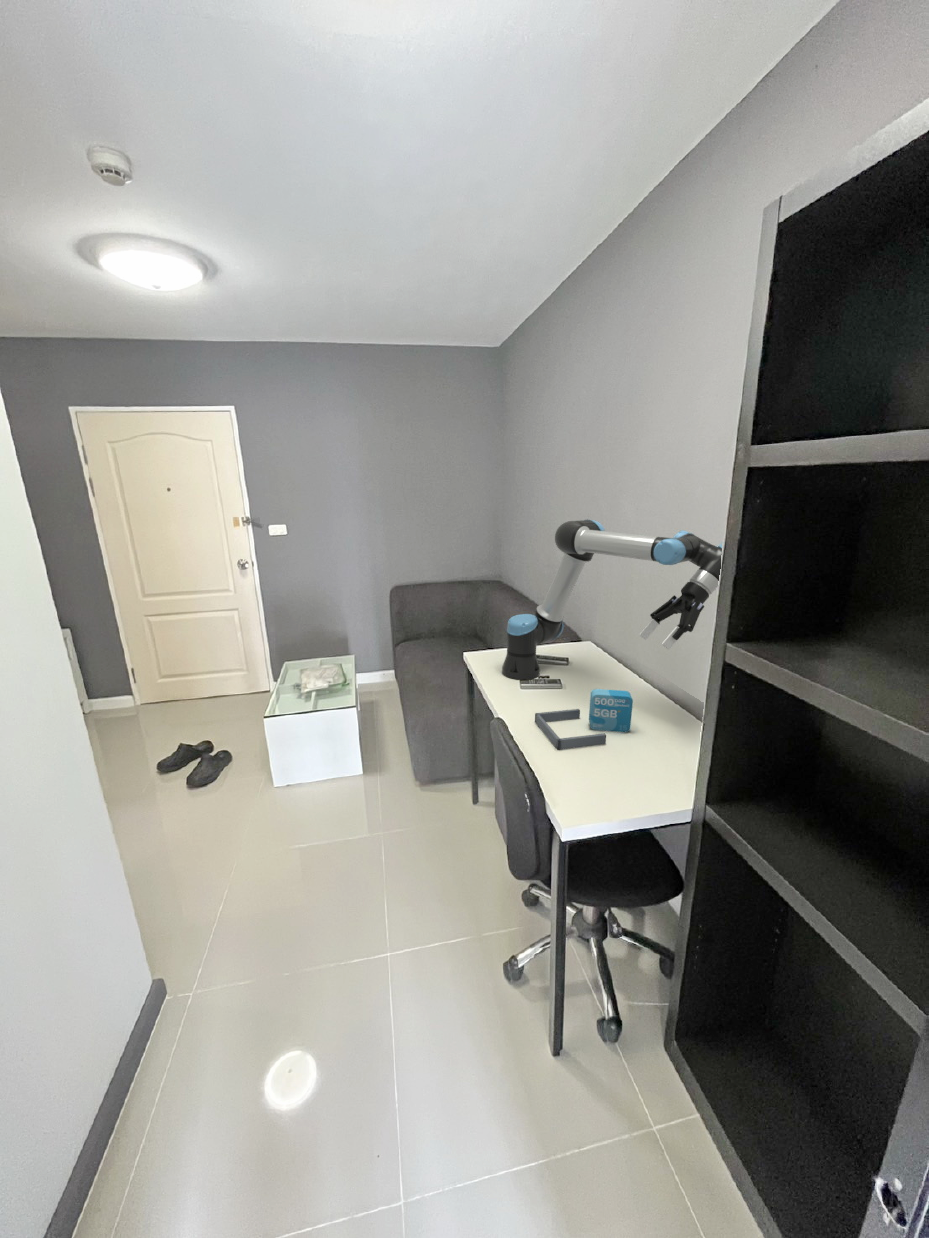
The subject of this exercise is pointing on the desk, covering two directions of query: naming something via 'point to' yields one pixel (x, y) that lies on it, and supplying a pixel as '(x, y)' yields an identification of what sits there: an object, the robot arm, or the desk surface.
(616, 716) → the data package
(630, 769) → the desk surface
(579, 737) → the dock bay
